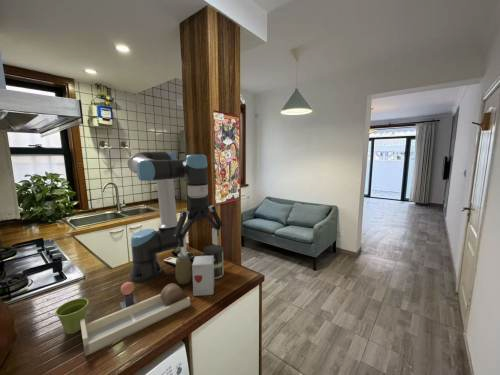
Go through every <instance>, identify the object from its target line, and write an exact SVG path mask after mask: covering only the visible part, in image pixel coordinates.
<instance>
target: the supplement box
mask: <svg viewBox="0 0 500 375" xmlns="http://www.w3.org/2000/svg"><path fill="white" fill-rule="evenodd" d="M191 270H192V294H193V297H195V296H197V297H199V296H211V295H212V296H213V295H214V290H215V279H214V256H204V255H196V256H194V258H193V262H192V264H191Z"/></svg>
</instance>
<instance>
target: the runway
mask: <svg viewBox="0 0 500 375" xmlns="http://www.w3.org/2000/svg"><path fill="white" fill-rule="evenodd" d="M189 307H191V298H190V296H187V297H185V299H183V300H181V301H178V302H176V303H174V304H172V305H169V306H166V305H165V304H164V302H163V301H162V300H161V293H159V294H157V295H154V296H152V297H149V298H147V299H145V300H141V301H139V302H138V303H137V304H134V305H132V306H129V307H127V308H125V309H119V310H117V311H115V312H113V313H110V314H107V315H105V316H103V317H100V318H98V319H95V320H93V321H90V322H88V323H86V324H85V320H84V319H81V320H80V324H81V329H80V331H81V337H82V343H83V350H84V356H85V357H87V356H90V355H91V354H94V353H95V352H98V351H100V350H102V349H104V348H106V347H108V346H110V345H112V344H114V343H116V342H118V341H120V340H122V339H124V338H127V337H129V336H131V335H132V334H136V333H137V332H139V331H142V330H143V329H146V328H147V327H150V326H151V325H153V324H155V323H158V322H160V321H161V320H164V319H166V318H168V317H170V316H172V315H174V314H177V313H178V312H180V311H183V310H184V309H186V308H189Z"/></svg>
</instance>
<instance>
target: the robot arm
mask: <svg viewBox="0 0 500 375" xmlns="http://www.w3.org/2000/svg"><path fill="white" fill-rule="evenodd" d="M127 167H128V169H129V170H130V171H131V172H132V173H134V174H136V175H137V178H138V180H139V181H140V182H141V181H142V182H151V181H156V188H157V196H158V205H159V206H158V207H159V218H160V225H159V226H158V230H155V229H154V228H145V229H141V230H139V231H137V232H134V233H133V234H132V235H131V238H130V246H131V255H132V265H131V268H130V272H129V277H130V280H131V281H132V282H135V283H142V282H149V281H150V280H154V279H156V278H157V277H159V276H160V275H161V274H162V273H163V272H162V271H163V270H162V269H163V268H162V265H161V263H160V261H159V259H158V254H160V253H164V252H168V251H172V250H177V249H179V248H180V250H181V253H182V254H183V255H184V256H186V255H187V254H188V252H187V238H186V235H187V234H188V232H189V230H190V229H191V227H192V226H193V224H195V222H198V221H200V220H201V221H203V220H206V222H207V223H208V224H210V225H211V226H212V227H213V228H211V242H212V244H211V245H218V237H219V234H220V233H219V231H220V230H221V228H222V227H223V226H224V225H223V222H222V220H221V218H220V217H219V215H218V212H217V208H216V205H212V204H210V205H209V195H208V194H209V184H208V183H209V180H208V175H209V174H208V167H209V166H208V158H207V156H206V155H205V154H187V155H186V156H185V158H181V159H178V158H177V156H176V155H175V154H174V152H172V151H140V152H137V153H134V154H132V155H131V156H130V157H129V158H128V160H127ZM178 179H179V180H180V179H186V182H187V183H186V184H187V187H186V188H187V196H188V197H187V205H188V210H180V211H179V213H180V214H179V218H178V215H177V214H178V213H177V204H176V195H175V185H174V180H178ZM209 212H210V214H211V216H212V217H211V216H210V215H209ZM187 217H188V218H187ZM212 218H213V219H214V220H213V219H212Z"/></svg>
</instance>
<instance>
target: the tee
mask: <svg viewBox="0 0 500 375" xmlns="http://www.w3.org/2000/svg"><path fill="white" fill-rule="evenodd" d="M122 295H123V301H122V302H119V307H120V310H122V309H125V308H127V307H129V306H132V305H134V304H137V303H139V302H138V300H137V298H136V297H135V296H134V294H133V292H132V293H131V294H129V295H124V294H122Z"/></svg>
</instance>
